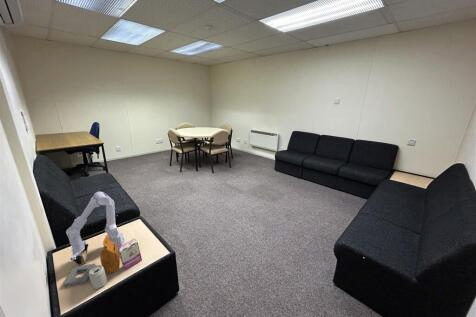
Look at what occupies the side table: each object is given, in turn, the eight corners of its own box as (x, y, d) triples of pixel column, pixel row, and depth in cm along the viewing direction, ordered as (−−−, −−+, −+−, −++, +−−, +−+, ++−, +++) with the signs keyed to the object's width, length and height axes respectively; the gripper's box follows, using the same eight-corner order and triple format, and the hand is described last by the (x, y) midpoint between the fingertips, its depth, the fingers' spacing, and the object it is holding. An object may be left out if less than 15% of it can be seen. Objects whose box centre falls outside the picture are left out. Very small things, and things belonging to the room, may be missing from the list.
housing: (96, 266, 133) (95, 263, 132) (87, 283, 122) (86, 280, 121) (75, 269, 131) (74, 266, 130) (64, 286, 120) (63, 283, 119)
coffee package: (122, 256, 140) (116, 231, 132) (120, 271, 129) (112, 245, 121) (106, 260, 137) (98, 235, 129) (102, 276, 126) (93, 249, 118)
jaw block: (88, 258, 139) (86, 250, 136) (85, 263, 135) (82, 255, 132) (81, 259, 138) (78, 251, 135) (78, 264, 134) (75, 256, 131)
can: (97, 292, 117) (91, 277, 112) (90, 285, 121) (85, 271, 116) (110, 281, 123) (105, 267, 118) (103, 275, 126) (99, 261, 122)
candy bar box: (139, 256, 141) (135, 237, 135) (142, 260, 137) (138, 241, 131) (122, 266, 133) (116, 247, 127) (125, 270, 130) (119, 251, 124)
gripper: (75, 236, 136) (81, 251, 141) (63, 253, 123) (69, 269, 128) (87, 235, 138) (92, 250, 143) (76, 251, 125) (82, 267, 130)
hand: (82, 259), depth 136 cm, fingers open, 7 cm apart
